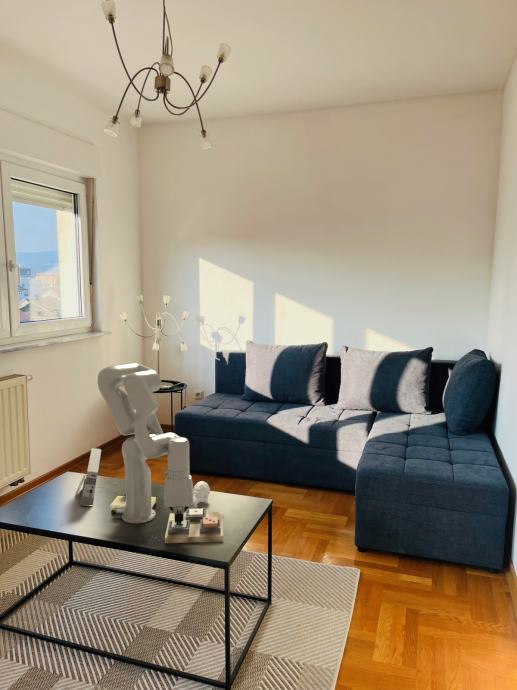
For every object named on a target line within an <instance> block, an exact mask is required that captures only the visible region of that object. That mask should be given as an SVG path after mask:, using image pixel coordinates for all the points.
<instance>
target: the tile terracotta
mask: <svg viewBox="0 0 517 690" xmlns="http://www.w3.org/2000/svg"><path fill="white" fill-rule="evenodd" d="M211 527H218V517H203V528H211Z"/></svg>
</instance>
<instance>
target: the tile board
mask: <svg viewBox="0 0 517 690" xmlns="http://www.w3.org/2000/svg"><path fill="white" fill-rule="evenodd" d="M189 509H190V508H188V509H187V510H186V511H185V512H184V513H183V520H187V528H176V529H171V525H172V521H175V514H174V512H172V513H171V512H170V513H169V517H168V521H167V526H166V531H165V535H164V544H177V543H179V544H182V543H185V544H186V543H187V544H188V543H205V542H206V543H215V542H216V543H217V542H218V543H219V542H224V513H223V511H207V509H206V507H203V516H189ZM196 509H202V508H198V507H196ZM203 517H218V527H211V528H203Z"/></svg>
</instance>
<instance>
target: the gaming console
mask: <svg viewBox="0 0 517 690" xmlns="http://www.w3.org/2000/svg"><path fill="white" fill-rule="evenodd" d="M101 453H102V449H101V448H94V447H92V448H91V449H90V456H89V461H88V466H87V470H86V474H84V475H83V477H82V479H81V481H80V483H79V485H78V487H77V489H76V491H75V494H76V496H77V495H78V493H79V492H80V489H81V487H82V490H81V491H82V492H81V494H80V495H81V496H80V499H79V500H80V501H79V506H84V507H86V506H85V505H94V501H95V500H94V499H95V493H96V487H97V486H96V485H97V478H98V473H99V468H100V463H101V462H100V460H101V455H102V454H101ZM82 485H83V486H82Z"/></svg>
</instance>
